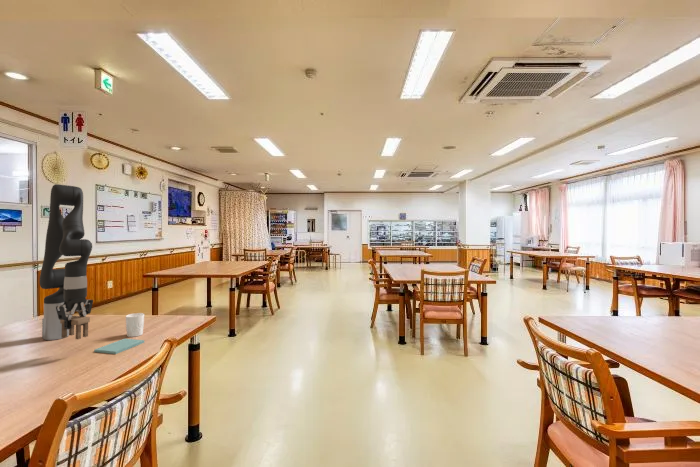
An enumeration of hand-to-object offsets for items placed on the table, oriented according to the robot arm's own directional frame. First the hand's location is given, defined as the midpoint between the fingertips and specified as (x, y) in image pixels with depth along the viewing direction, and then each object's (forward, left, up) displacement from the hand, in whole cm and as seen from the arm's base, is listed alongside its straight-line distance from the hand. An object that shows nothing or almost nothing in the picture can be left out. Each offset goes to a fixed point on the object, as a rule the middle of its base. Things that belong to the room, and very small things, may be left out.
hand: (74, 326), depth 138 cm
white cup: (+2, +28, -12) cm, 31 cm away
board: (+10, +12, -12) cm, 20 cm away
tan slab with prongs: (0, 0, -4) cm, 4 cm away
